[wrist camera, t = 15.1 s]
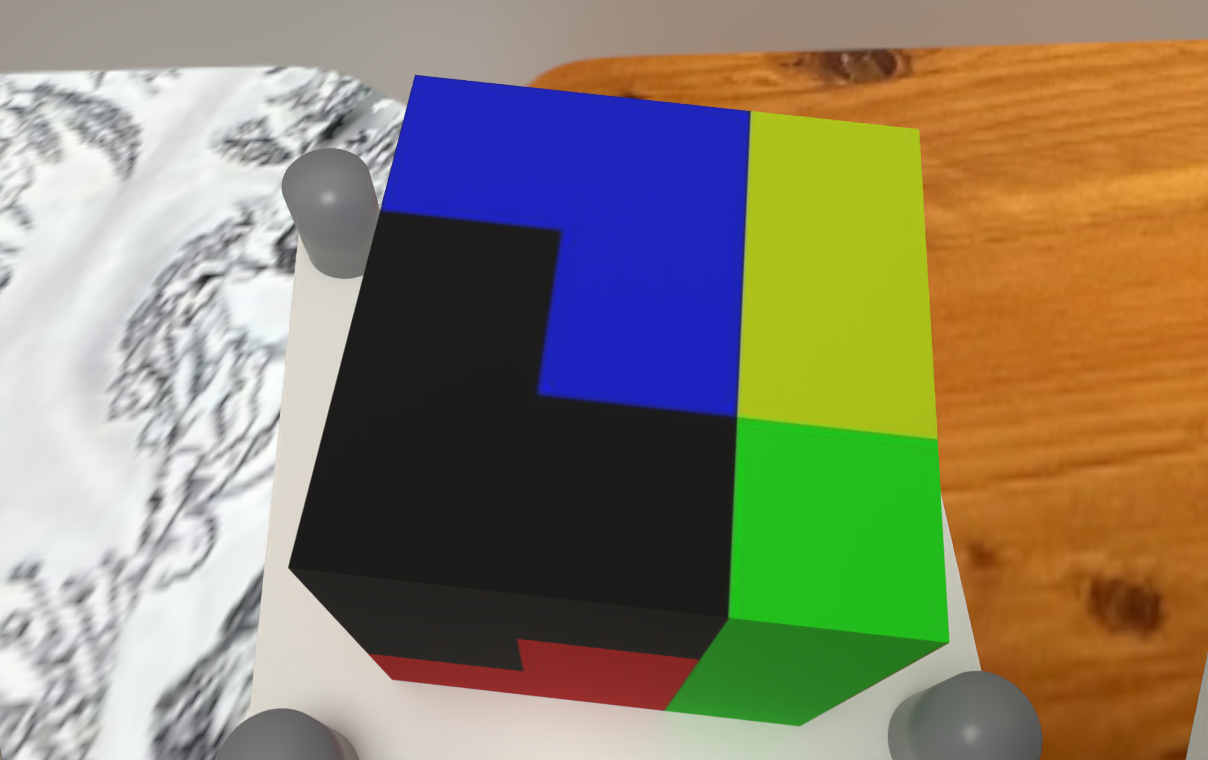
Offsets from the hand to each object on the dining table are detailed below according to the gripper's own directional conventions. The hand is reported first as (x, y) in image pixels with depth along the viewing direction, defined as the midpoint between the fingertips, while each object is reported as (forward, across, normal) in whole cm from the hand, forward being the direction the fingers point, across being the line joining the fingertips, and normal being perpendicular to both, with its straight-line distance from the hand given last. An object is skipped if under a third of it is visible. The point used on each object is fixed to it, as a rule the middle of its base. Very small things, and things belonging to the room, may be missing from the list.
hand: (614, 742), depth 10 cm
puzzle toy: (+15, +1, -4) cm, 15 cm away
